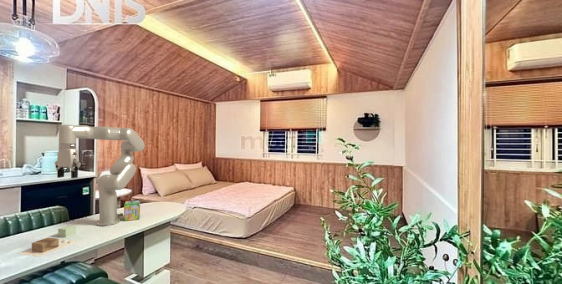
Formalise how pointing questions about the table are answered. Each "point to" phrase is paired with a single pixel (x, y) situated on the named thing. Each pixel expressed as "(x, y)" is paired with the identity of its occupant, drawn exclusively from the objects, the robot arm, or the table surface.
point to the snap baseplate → (62, 244)
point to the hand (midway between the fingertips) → (67, 177)
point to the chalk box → (132, 210)
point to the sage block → (66, 231)
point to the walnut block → (45, 244)
